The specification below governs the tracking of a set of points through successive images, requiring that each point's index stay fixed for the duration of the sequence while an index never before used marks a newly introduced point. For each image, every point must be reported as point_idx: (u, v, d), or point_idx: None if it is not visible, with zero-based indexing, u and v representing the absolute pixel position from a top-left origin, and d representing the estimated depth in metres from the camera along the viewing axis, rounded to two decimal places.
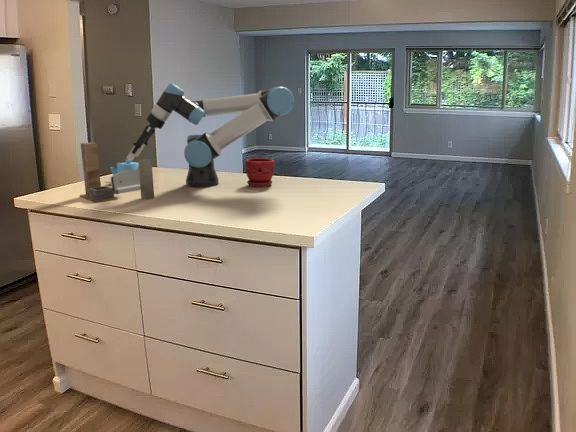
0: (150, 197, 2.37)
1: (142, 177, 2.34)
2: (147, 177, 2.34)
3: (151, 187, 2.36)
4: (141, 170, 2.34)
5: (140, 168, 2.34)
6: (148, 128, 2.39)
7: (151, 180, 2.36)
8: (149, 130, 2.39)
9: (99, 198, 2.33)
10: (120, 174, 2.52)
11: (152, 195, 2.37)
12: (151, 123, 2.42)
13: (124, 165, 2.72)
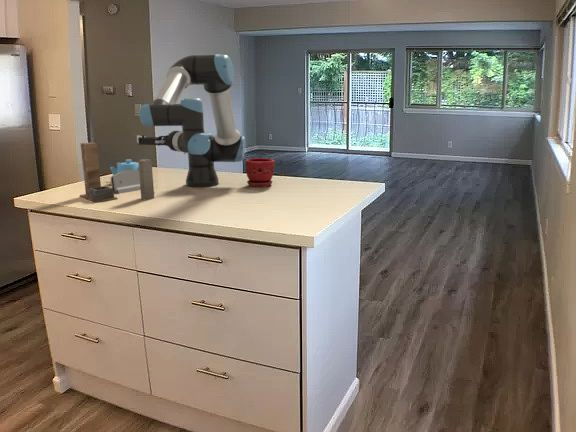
0: (150, 197, 2.37)
1: (142, 177, 2.34)
2: (147, 177, 2.34)
3: (151, 187, 2.36)
4: (141, 170, 2.34)
5: (140, 168, 2.34)
6: None
7: (151, 180, 2.36)
8: None
9: (99, 198, 2.33)
10: (120, 174, 2.52)
11: (152, 195, 2.37)
12: None
13: (124, 165, 2.72)
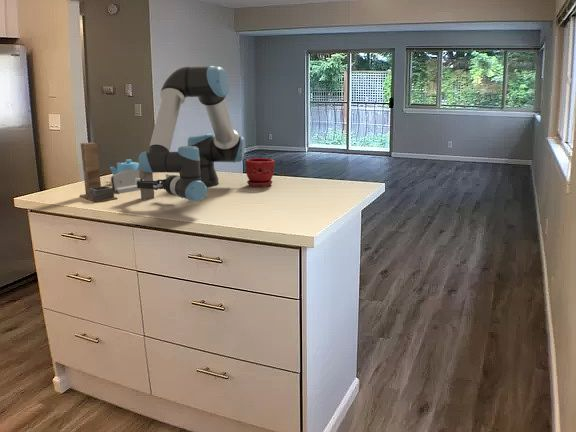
0: (150, 197, 2.37)
1: (142, 177, 2.34)
2: (147, 177, 2.34)
3: None
4: (141, 170, 2.34)
5: None
6: None
7: (151, 180, 2.36)
8: None
9: (99, 198, 2.33)
10: (120, 174, 2.52)
11: (152, 195, 2.37)
12: None
13: (124, 165, 2.72)
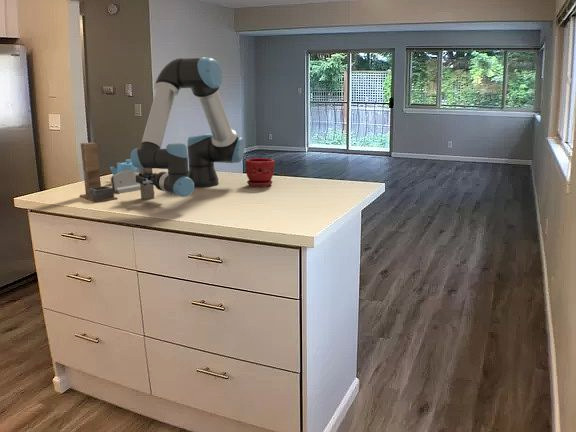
0: (150, 197, 2.37)
1: None
2: None
3: (151, 187, 2.36)
4: (141, 170, 2.34)
5: (140, 168, 2.34)
6: None
7: None
8: None
9: (99, 198, 2.33)
10: (120, 174, 2.52)
11: (152, 195, 2.37)
12: None
13: (124, 165, 2.72)
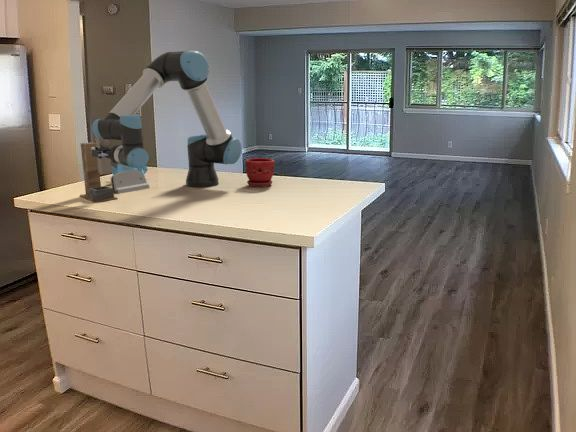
0: (107, 172, 2.33)
1: None
2: None
3: (108, 162, 2.32)
4: (97, 144, 2.30)
5: (97, 142, 2.30)
6: None
7: None
8: None
9: (99, 198, 2.33)
10: (120, 174, 2.52)
11: (110, 169, 2.33)
12: None
13: (124, 165, 2.72)
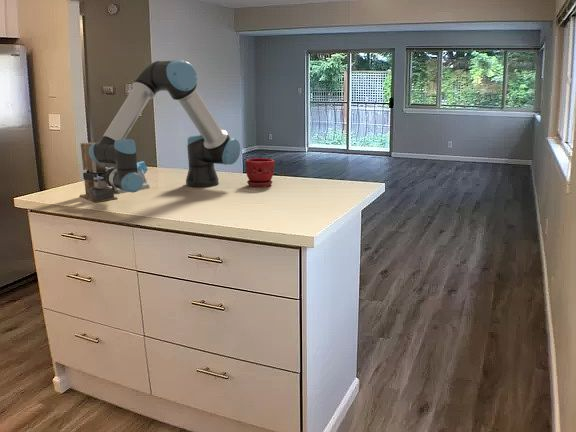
0: None
1: None
2: None
3: (105, 187, 2.35)
4: (94, 169, 2.33)
5: (93, 168, 2.33)
6: None
7: None
8: None
9: (99, 198, 2.33)
10: None
11: None
12: None
13: None
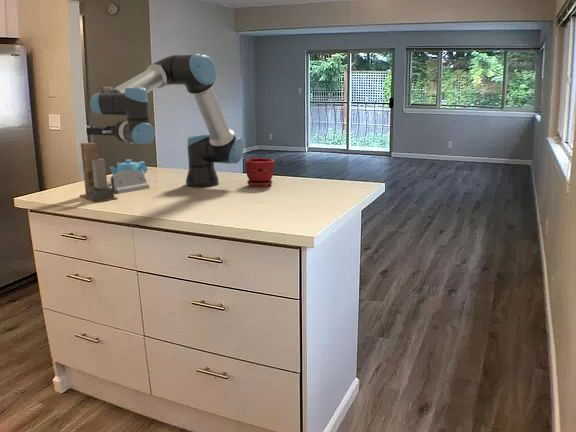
0: None
1: (95, 177, 2.33)
2: (100, 176, 2.33)
3: (105, 187, 2.35)
4: (94, 169, 2.33)
5: (93, 168, 2.33)
6: None
7: (105, 180, 2.35)
8: None
9: (99, 198, 2.33)
10: (120, 174, 2.52)
11: None
12: None
13: (124, 165, 2.72)
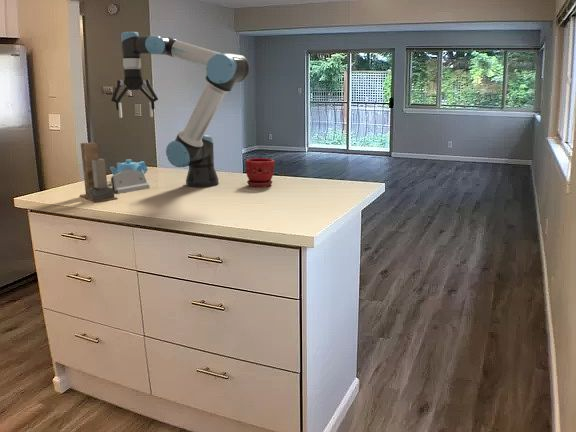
0: None
1: (95, 177, 2.33)
2: (100, 176, 2.33)
3: (105, 187, 2.35)
4: (94, 169, 2.33)
5: (93, 168, 2.33)
6: None
7: (105, 180, 2.35)
8: None
9: (99, 198, 2.33)
10: (120, 174, 2.52)
11: None
12: None
13: (124, 165, 2.72)
